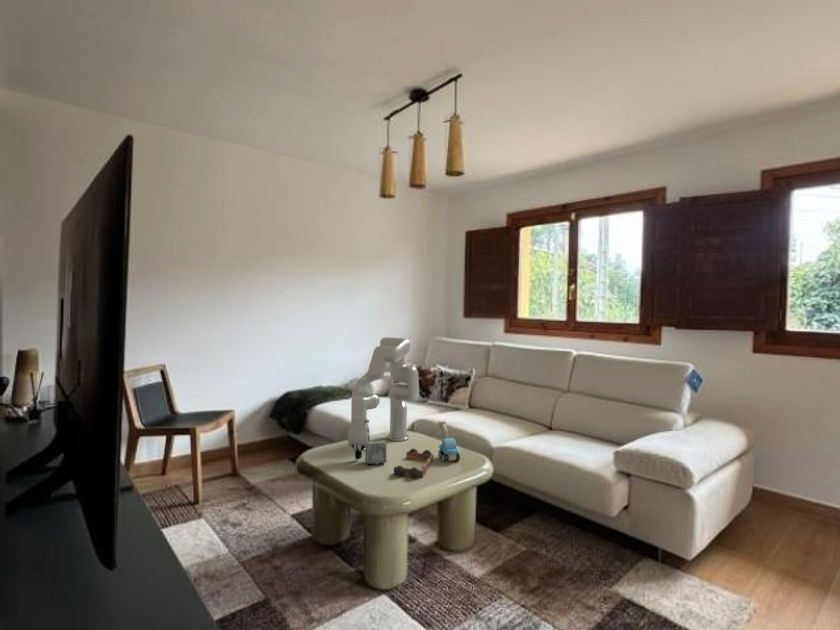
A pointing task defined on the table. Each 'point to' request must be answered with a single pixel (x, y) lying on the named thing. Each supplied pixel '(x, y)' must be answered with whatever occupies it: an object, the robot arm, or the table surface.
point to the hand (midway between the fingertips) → (358, 458)
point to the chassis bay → (415, 471)
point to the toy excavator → (447, 446)
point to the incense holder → (375, 452)
